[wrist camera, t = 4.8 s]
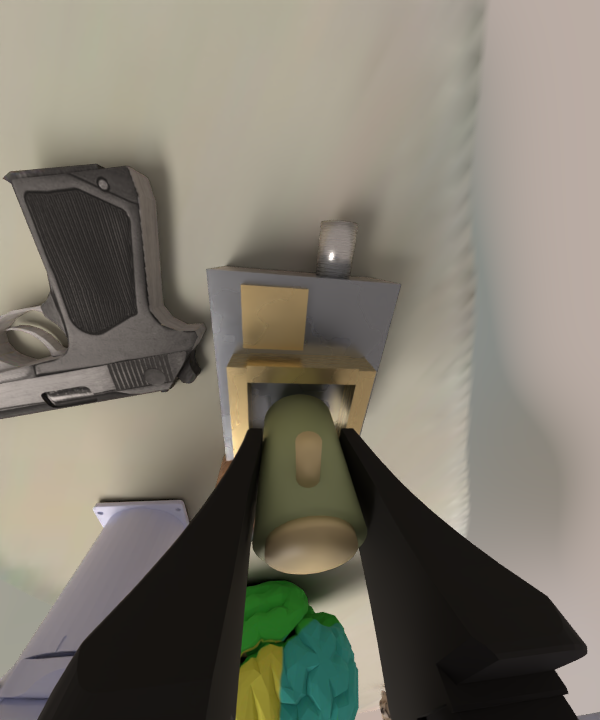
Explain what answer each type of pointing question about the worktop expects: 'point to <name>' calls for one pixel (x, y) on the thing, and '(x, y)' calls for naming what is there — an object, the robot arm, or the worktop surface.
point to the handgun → (95, 294)
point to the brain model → (293, 659)
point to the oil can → (305, 491)
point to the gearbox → (298, 336)
